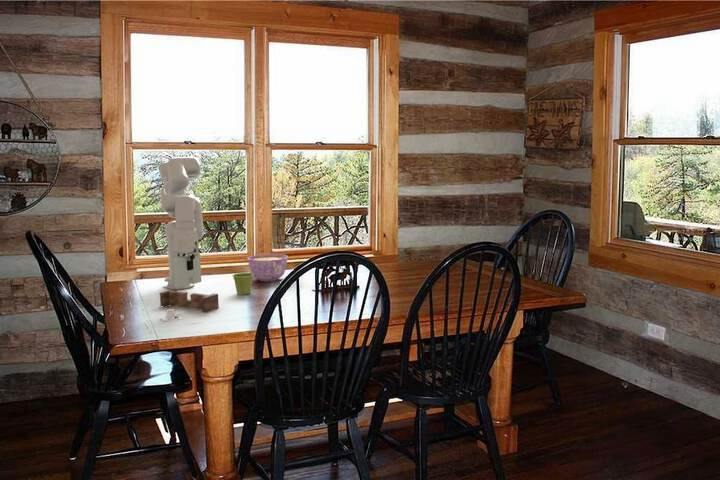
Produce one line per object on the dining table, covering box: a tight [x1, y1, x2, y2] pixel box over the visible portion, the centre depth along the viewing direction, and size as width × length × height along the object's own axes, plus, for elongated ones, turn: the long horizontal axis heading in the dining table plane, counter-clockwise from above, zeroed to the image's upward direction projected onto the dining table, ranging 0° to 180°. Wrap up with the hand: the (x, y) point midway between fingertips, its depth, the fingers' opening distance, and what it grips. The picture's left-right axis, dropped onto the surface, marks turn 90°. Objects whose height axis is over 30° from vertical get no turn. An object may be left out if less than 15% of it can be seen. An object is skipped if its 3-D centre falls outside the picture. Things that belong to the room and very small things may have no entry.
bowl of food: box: [247, 253, 289, 283], centre depth 343 cm, size 20×20×12 cm
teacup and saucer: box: [165, 308, 181, 320], centre depth 270 cm, size 9×8×4 cm
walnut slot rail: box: [159, 289, 220, 313], centre depth 288 cm, size 24×8×6 cm, turn 63°
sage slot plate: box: [173, 253, 202, 288], centre depth 286 cm, size 2×14×12 cm, turn 153°
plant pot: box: [232, 272, 254, 296], centre depth 313 cm, size 9×9×9 cm
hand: (187, 269), depth 286 cm, fingers closed on sage slot plate, 2 cm apart
